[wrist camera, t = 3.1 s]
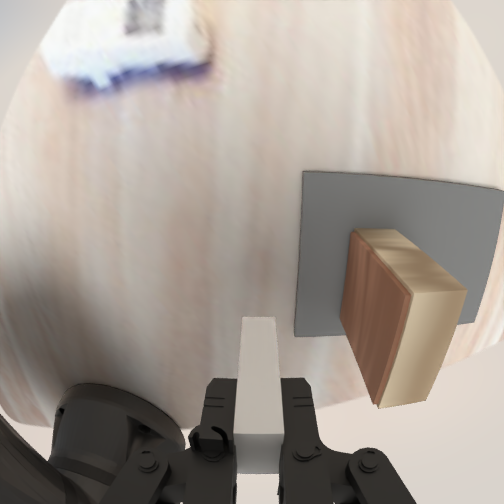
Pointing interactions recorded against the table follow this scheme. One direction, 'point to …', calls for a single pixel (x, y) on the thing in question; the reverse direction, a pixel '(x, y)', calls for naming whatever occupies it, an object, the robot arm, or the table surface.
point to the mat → (390, 217)
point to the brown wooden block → (397, 315)
